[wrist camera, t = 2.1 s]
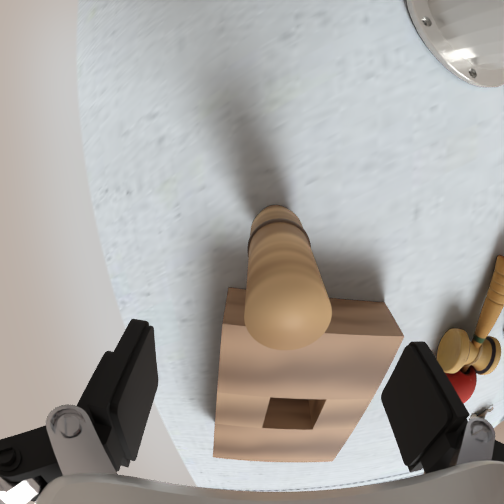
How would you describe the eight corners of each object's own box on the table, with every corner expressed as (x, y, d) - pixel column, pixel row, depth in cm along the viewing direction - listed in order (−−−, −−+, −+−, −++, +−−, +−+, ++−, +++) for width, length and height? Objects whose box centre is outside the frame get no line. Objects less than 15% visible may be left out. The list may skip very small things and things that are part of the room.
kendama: (466, 243, 25) (406, 392, 30) (513, 264, 19) (434, 426, 24) (501, 253, 27) (446, 384, 32) (540, 271, 21) (473, 412, 26)
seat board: (228, 287, 26) (222, 323, 21) (384, 302, 26) (404, 336, 22) (216, 424, 34) (212, 457, 29) (327, 429, 34) (332, 461, 30)
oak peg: (253, 195, 23) (247, 271, 12) (304, 202, 23) (344, 282, 12) (247, 243, 24) (237, 347, 13) (295, 249, 24) (321, 354, 13)
